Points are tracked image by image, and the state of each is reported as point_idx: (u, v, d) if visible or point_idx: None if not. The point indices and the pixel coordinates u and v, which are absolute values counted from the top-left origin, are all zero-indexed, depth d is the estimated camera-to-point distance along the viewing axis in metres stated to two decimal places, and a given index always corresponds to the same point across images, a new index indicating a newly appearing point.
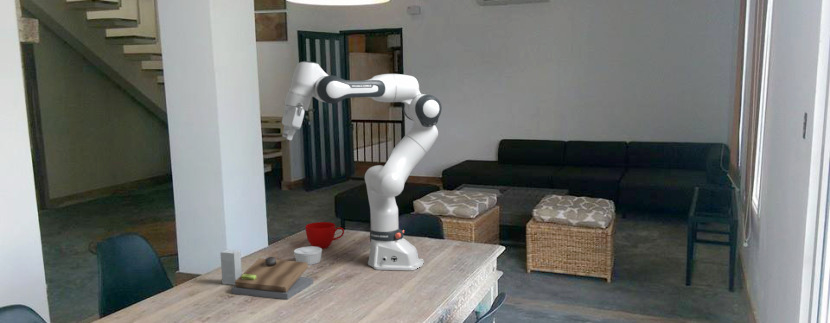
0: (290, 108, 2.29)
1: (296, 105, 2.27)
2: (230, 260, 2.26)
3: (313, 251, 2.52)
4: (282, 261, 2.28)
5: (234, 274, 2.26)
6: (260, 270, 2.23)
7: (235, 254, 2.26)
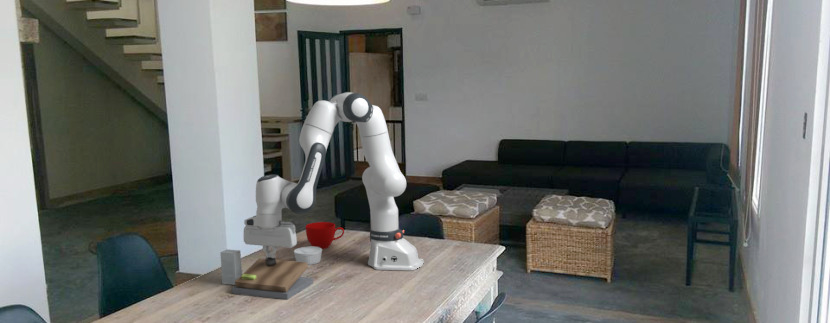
0: (271, 229, 2.22)
1: (278, 224, 2.23)
2: (230, 260, 2.26)
3: (313, 251, 2.52)
4: (282, 261, 2.28)
5: (234, 274, 2.26)
6: (260, 270, 2.23)
7: (235, 254, 2.26)
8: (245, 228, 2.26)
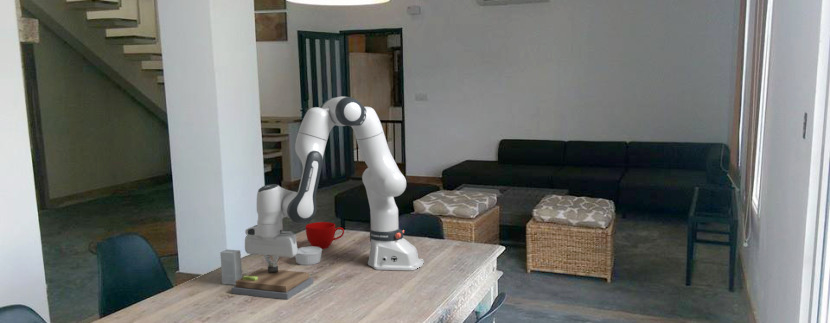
0: (272, 238, 2.23)
1: (279, 233, 2.24)
2: (230, 260, 2.26)
3: (313, 251, 2.52)
4: (284, 271, 2.29)
5: (234, 274, 2.26)
6: (262, 275, 2.24)
7: (235, 254, 2.26)
8: (246, 237, 2.27)
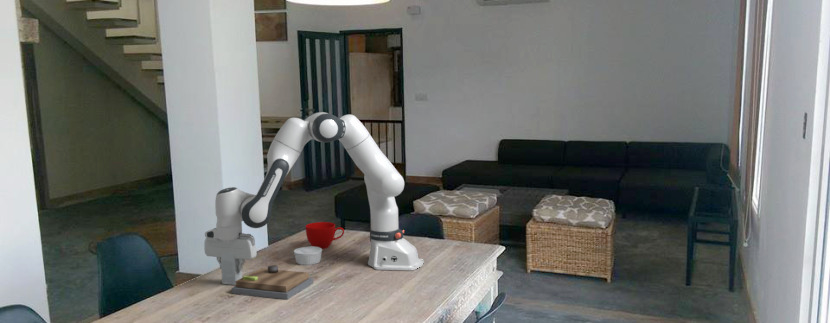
0: (231, 241, 2.25)
1: (238, 236, 2.25)
2: (230, 260, 2.26)
3: (313, 251, 2.52)
4: (284, 271, 2.29)
5: (234, 274, 2.26)
6: (262, 275, 2.24)
7: None
8: (206, 240, 2.28)
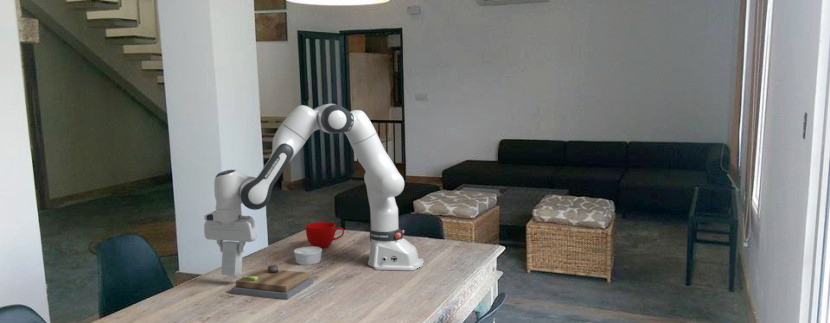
0: (230, 224, 2.24)
1: (237, 218, 2.25)
2: (232, 250, 2.26)
3: (313, 251, 2.52)
4: (284, 271, 2.29)
5: (234, 265, 2.26)
6: (262, 275, 2.24)
7: (237, 244, 2.27)
8: (205, 223, 2.27)
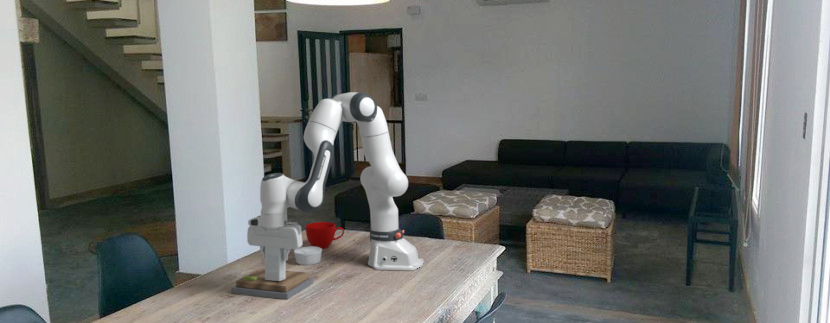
0: (276, 229, 2.14)
1: (283, 224, 2.15)
2: (275, 255, 2.16)
3: (313, 251, 2.52)
4: None
5: (278, 270, 2.16)
6: (262, 275, 2.24)
7: (280, 248, 2.16)
8: (249, 228, 2.18)
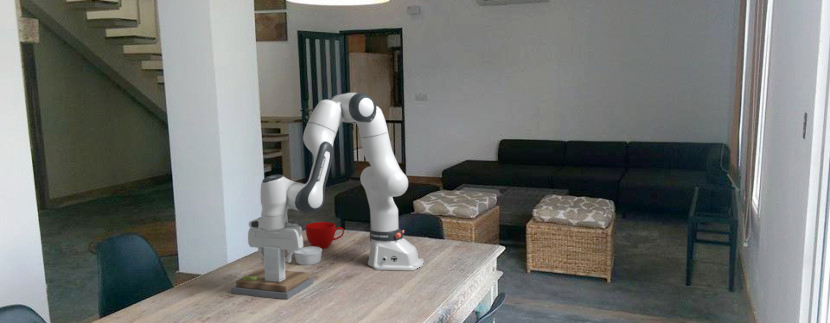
0: (277, 231, 2.15)
1: (284, 226, 2.15)
2: (274, 256, 2.15)
3: (313, 251, 2.52)
4: None
5: (278, 271, 2.15)
6: (262, 275, 2.24)
7: (279, 249, 2.15)
8: (250, 230, 2.18)
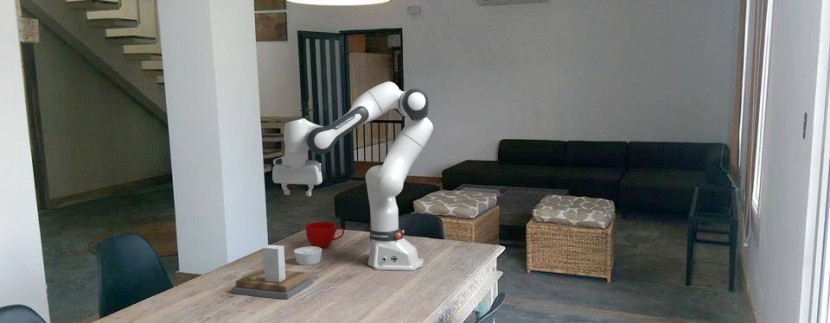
0: (298, 167, 2.39)
1: (305, 163, 2.40)
2: (274, 256, 2.15)
3: (313, 251, 2.52)
4: None
5: (278, 271, 2.15)
6: (262, 275, 2.24)
7: (279, 250, 2.15)
8: (274, 167, 2.43)
